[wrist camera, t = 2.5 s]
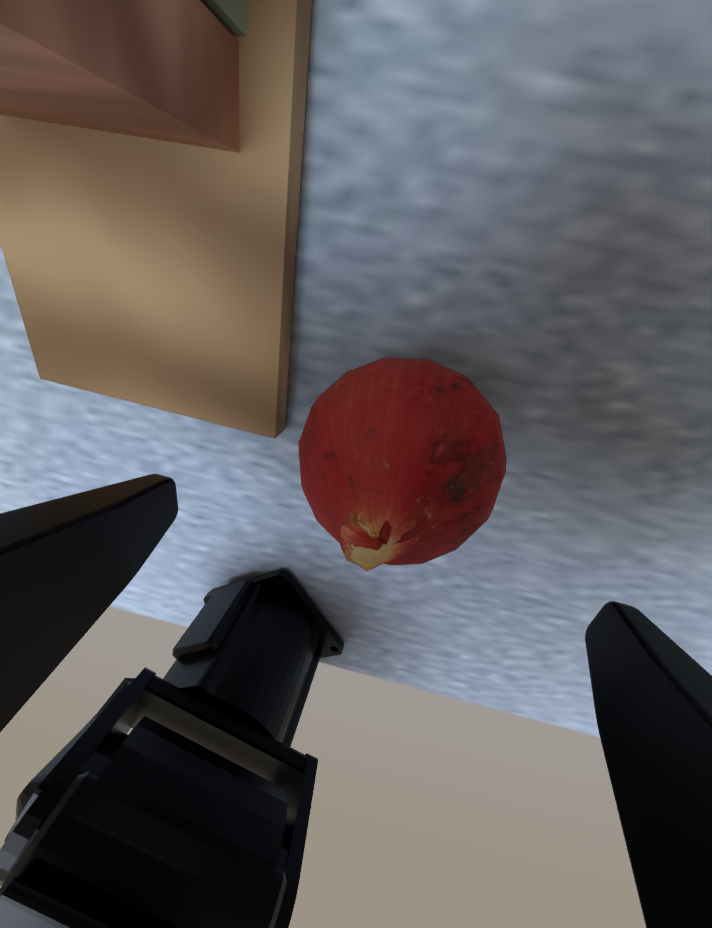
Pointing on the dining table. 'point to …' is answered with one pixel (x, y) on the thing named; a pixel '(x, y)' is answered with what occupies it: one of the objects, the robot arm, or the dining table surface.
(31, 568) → the robot arm
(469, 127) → the dining table surface
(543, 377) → the dining table surface
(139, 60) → the book shelf
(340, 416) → the pomegranate
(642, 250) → the dining table surface
